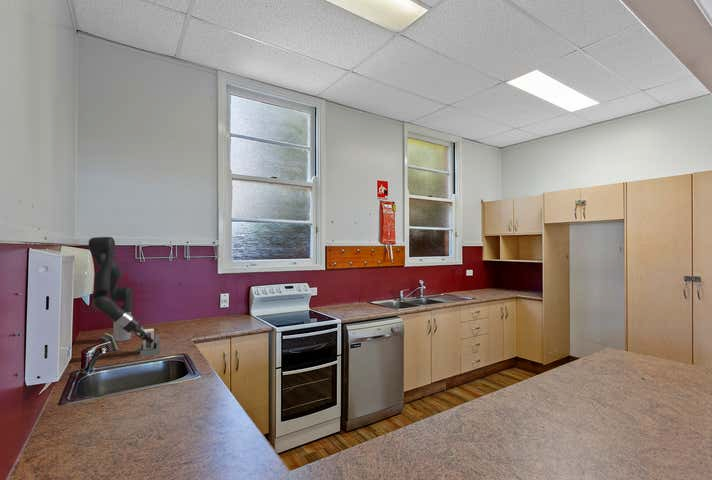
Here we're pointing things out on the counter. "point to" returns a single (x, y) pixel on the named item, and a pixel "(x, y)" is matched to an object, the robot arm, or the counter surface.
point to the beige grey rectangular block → (146, 344)
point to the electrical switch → (108, 338)
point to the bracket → (151, 351)
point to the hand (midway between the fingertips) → (152, 340)
